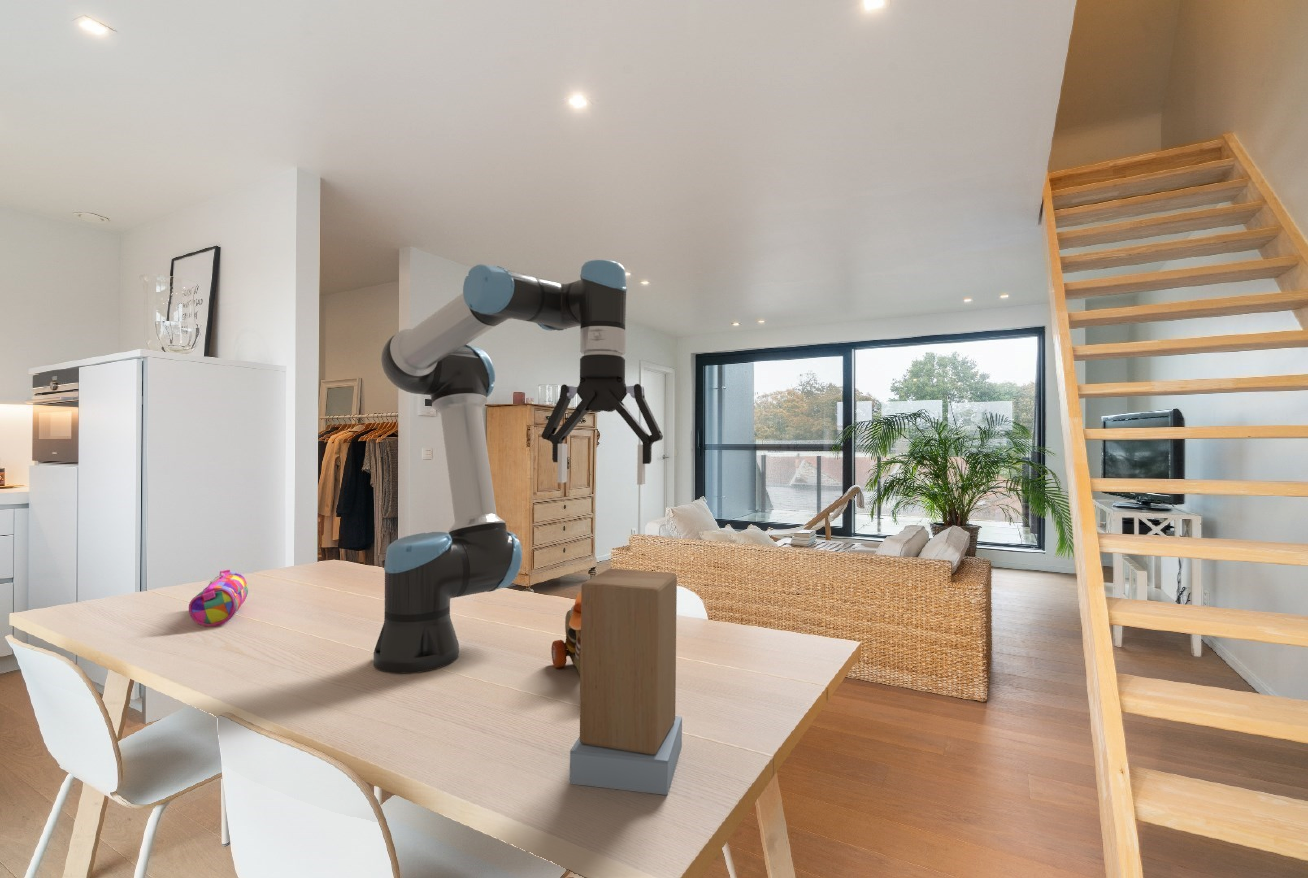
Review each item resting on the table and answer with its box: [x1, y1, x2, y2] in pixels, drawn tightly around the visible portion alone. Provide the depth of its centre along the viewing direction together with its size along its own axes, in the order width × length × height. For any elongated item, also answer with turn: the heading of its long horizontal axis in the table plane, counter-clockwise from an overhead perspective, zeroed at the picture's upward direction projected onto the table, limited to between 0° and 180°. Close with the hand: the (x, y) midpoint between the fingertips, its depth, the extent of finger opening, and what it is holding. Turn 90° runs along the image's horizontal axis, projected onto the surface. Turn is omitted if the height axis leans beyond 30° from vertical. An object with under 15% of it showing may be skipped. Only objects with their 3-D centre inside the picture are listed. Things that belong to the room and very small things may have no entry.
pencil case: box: [188, 569, 249, 627], centre depth 144 cm, size 22×9×9 cm, turn 29°
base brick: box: [569, 715, 683, 796], centre depth 79 cm, size 12×12×4 cm
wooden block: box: [579, 568, 678, 755], centre depth 79 cm, size 10×10×20 cm
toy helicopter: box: [550, 590, 581, 676], centre depth 108 cm, size 8×21×14 cm, turn 23°
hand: (601, 483), depth 102 cm, fingers open, 13 cm apart
